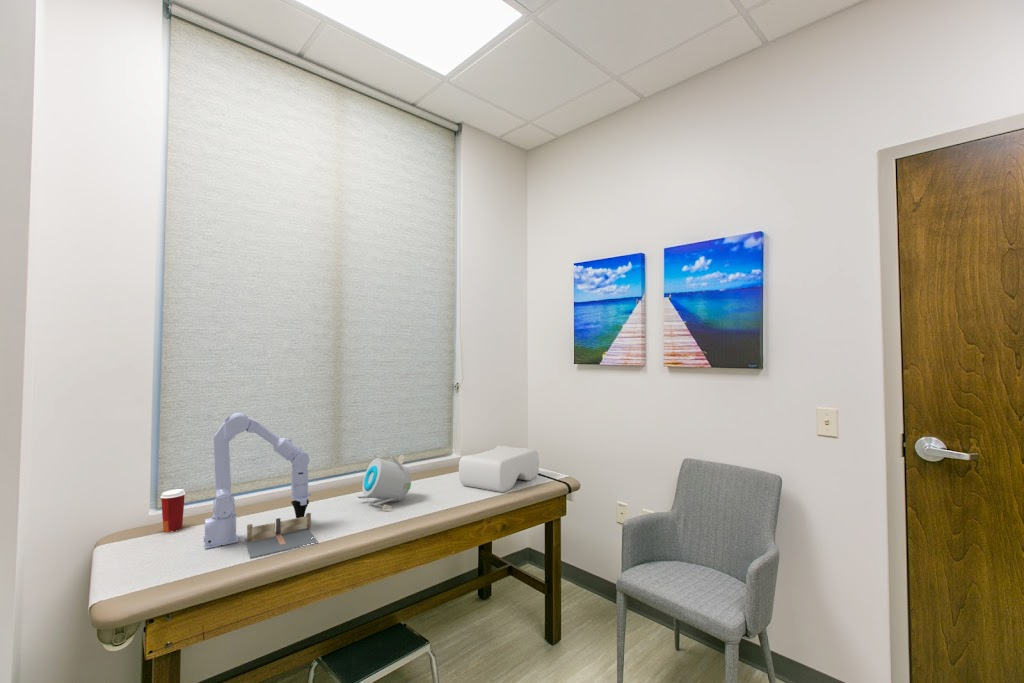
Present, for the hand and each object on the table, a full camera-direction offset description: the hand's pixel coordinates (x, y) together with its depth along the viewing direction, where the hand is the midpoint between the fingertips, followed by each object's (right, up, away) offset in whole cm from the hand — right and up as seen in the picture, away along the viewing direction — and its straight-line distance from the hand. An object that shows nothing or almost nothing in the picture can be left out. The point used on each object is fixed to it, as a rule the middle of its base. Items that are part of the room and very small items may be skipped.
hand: (300, 520), depth 171 cm
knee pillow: (+73, -4, +57) cm, 93 cm away
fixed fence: (-8, -2, -12) cm, 14 cm away
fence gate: (0, -1, -6) cm, 6 cm away
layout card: (0, -2, -14) cm, 14 cm away
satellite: (+24, -3, +28) cm, 37 cm away
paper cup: (-47, -4, 0) cm, 48 cm away
